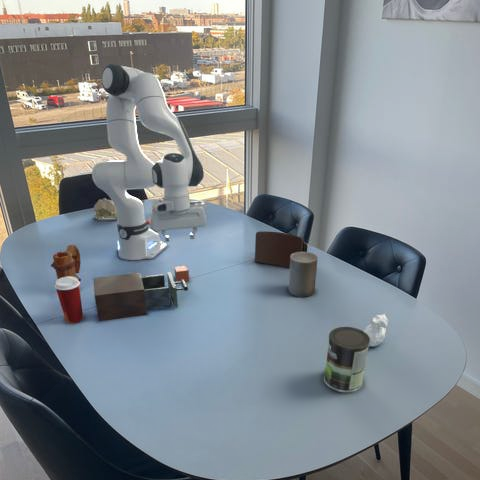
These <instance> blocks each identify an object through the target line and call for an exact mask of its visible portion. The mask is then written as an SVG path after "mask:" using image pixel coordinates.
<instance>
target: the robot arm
mask: <svg viewBox="0 0 480 480" xmlns="http://www.w3.org/2000/svg"><path fill="white" fill-rule="evenodd" d="M101 85H102V88H103V90H104V91H105V93H107V94H108V95H109V96H108V98H107V101H106V126H107V127H106V130H107V140H108V144H109V146H110V147H111V148H112V149H113V150H115V151H116V152H118V153H121V154H123V155H124V156H125V157H126V159H125V160H106V161H101V162H98V163H95V165H94V166H93V167H92V171H91V178H92V181H93V183H94V185H95V186H96V187H97V188H98V189H99V190H101V191H103V192H104V193H105V194H106V195H107V196H108V197H109V198H110V200H111V201H112V202H113V203H114V205H115V209H116V213H117V223H116V228H117V233H118V234H117V236H118V237H117V238H118V240H117V252H118V255H117V256H118V257H119V258H120V259H122V260H124V261H139V260H150V259H154V258H155V257H157V255H159V254H160V253H161V252H163V250H165V249H166V248H167V247H168V245H167V244H166V243H167V242H170V236H169V235H166V231H172V230H183V229H192V232H190V233H189V239H190V240H195V239H196V238H195V237H196V236H195V235H196V233H197V232H198V228H204V227H206V225H207V223H208V221H207V215H206V211H207V204H206V202H204V201H202V200H196V201H195V200H192V201H190V191H189V187H198V186H199V185H200V184H201V182H202V181H203V179H204V175H205V171H204V167H203V165H202V162H201V161H200V159H199V157H198V156H197V154H196V152H195V149H194V147H193V145H192V142H191V140H190V137H189V135H188V132H187V131H186V128H185V126H184V124H183V122H182V120H181V118H180V117H178V116H177V115H175V114H174V113H173V112H172V110H171V109H170V107H169V106H168V104H167V100H166V96H165V92H164V90H163V88H162V86H161V83H160V81H159V79H158V77H157V76H156V75H155V74H153V73H151V72H145V71H143V70H140V69H137V68H135V67H129V66H124V65H121V64H117V63H110V64H107V65H106V66H105V67H104V69H103V70H102V72H101ZM136 112H137V113H136ZM136 114H137V116H138V119H139V121H140V123H141V124H142V125H143V126H144V127H145V128H146V129H148V130H150V131H152V132H155V133H159V134H161V135H162V134H163V135H164V136H168V137H170V138H172V140H174V141H175V143H176V145H177V147H178V149H179V153H177V152H169V153H165V154H163V156H162V159H160V160H158V161H156V162H155V163H154V162H153V161H152V160H151V159H149V158H148V157H147V156H146V155H145V153H144V152H143V150H142V149H141V146H140V143H139V138H138V132H137V131H138V130H137V123H136V122H137V121H136ZM156 186H157V187H158V188H159V189H164V190H163V196H162V197H159V198H158V199H155V200H153V201H152V202H151V208H152V209H151V210H150V213H149V219H147V220H146V217H145V208H144V204H143V202H142V201H141V200H140V199H139V198H137V197H135V196H132V195H130V194H129V193H128V192H127V190H144V189H150V188H153V187H156ZM157 232H160V234H161V235H162V236H163V238H164V242H163V241H162V240H161V236H160V234H159V233H157Z"/></svg>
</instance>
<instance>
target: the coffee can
mask: <svg viewBox="0 0 480 480" xmlns="http://www.w3.org/2000/svg"><path fill="white" fill-rule="evenodd" d="M369 344H370V337H369V336H368V335H367V334H366V333H365V332H364V330H361V329H359V328H356V327H352V326H339V327H336V328H333V329H332V330H330V332H329V334H328V344H327V352H326V353H327V354H326V361H325V368H324V376H323V381H324V383H325V385H326V386H327V387H328V388H330V389H331V390H333V391H335V392H339V393H343V394H344V393H346V394H347V393H348V394H349V393H354V392H356V391H359V390H360V389H361V387H362V386H363V380H364V373H365V368H366V362H367V357H368V351H369V347H370V346H369Z"/></svg>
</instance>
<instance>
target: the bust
mask: <svg viewBox="0 0 480 480" xmlns="http://www.w3.org/2000/svg"><path fill="white" fill-rule="evenodd" d="M369 322H370V323H371V324H368V325H367V326H366V327H365V328H364V329H363V331H364V332H365V333H366V334H367V335H368V336H369V337H370V344H369V347H372V348H373V347H377V346H379V345H381V344H382V343H383V342H384V340H385V338H386V332H387V327H388V325H389V319H388V318H387V316H386V314H385V313H382V314H377V315H375V316H374V317H372V318H369Z"/></svg>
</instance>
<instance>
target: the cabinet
mask: <svg viewBox="0 0 480 480" xmlns="http://www.w3.org/2000/svg"><path fill="white" fill-rule="evenodd" d="M141 277H142V275H141V272H132V273H124V274H116V275H115V274H114V275H107V276H97V277H93V279H92V280H93V293H94V294H93V295H94V301H95V307H96V312H97V318H98V322H105V321H113V320H120V319H122V320H123V319H129V318H134V317H143V316H147V315H148V310H146V301H145V293H144V287H143V283H142V279H141Z"/></svg>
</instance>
